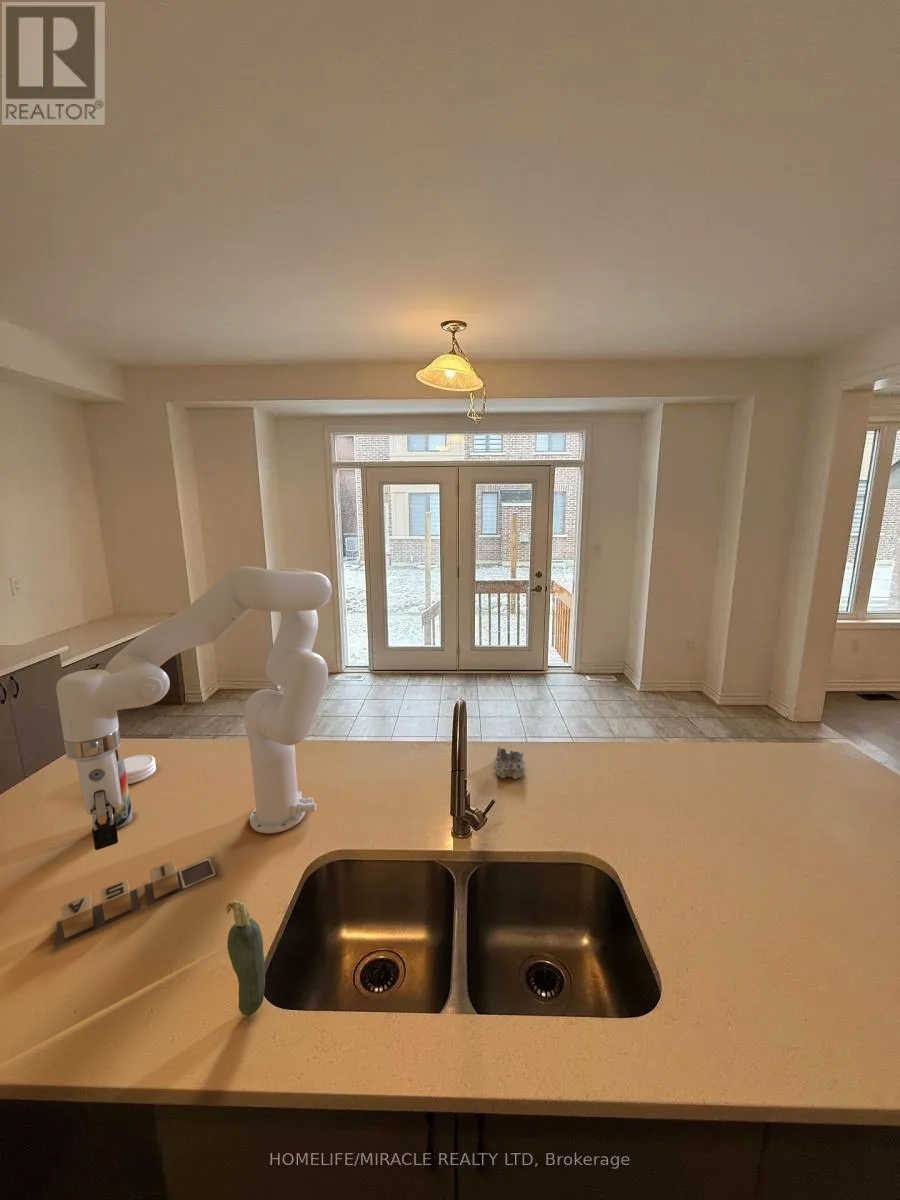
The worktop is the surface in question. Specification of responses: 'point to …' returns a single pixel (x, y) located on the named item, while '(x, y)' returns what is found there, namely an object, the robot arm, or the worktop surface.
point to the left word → (86, 917)
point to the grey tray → (177, 879)
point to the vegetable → (247, 958)
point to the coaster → (139, 768)
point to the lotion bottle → (122, 797)
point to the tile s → (116, 899)
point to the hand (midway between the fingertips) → (105, 830)
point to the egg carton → (509, 763)
